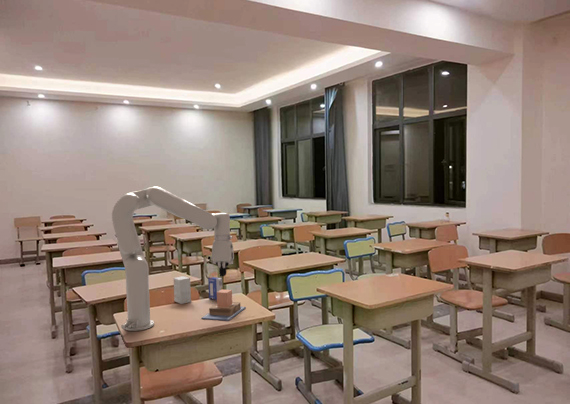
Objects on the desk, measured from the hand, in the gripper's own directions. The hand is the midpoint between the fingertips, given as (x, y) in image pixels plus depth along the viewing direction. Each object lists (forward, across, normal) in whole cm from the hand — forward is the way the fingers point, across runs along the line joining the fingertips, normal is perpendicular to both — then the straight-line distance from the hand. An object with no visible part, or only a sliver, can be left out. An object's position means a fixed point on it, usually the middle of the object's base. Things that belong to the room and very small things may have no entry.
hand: (223, 275), depth 198 cm
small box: (+19, +31, -14) cm, 39 cm away
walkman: (+18, +15, -22) cm, 33 cm away
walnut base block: (+18, -1, 0) cm, 18 cm away
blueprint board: (+18, -1, 0) cm, 18 cm away
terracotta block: (+15, 0, 0) cm, 15 cm away
